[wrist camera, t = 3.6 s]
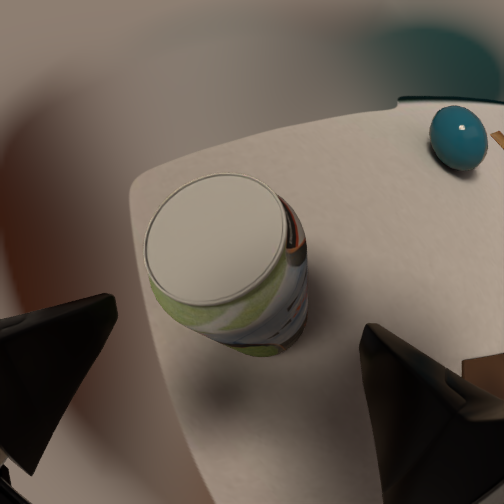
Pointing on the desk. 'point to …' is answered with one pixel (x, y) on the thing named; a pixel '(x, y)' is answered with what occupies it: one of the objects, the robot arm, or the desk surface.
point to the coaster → (486, 373)
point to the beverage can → (230, 263)
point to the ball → (458, 138)
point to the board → (498, 138)
